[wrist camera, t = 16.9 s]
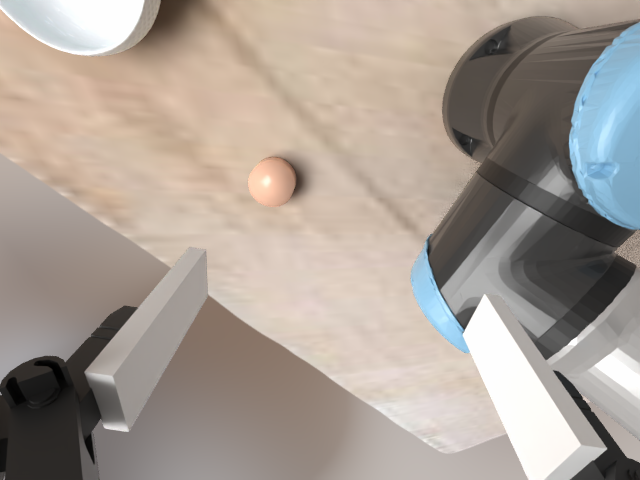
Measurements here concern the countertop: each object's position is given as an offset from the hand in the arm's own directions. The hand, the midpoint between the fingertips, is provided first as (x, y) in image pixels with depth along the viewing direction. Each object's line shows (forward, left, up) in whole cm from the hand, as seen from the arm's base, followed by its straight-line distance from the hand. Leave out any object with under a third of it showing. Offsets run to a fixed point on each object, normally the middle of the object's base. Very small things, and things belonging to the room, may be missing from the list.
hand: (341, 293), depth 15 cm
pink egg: (+9, +5, -30) cm, 31 cm away
